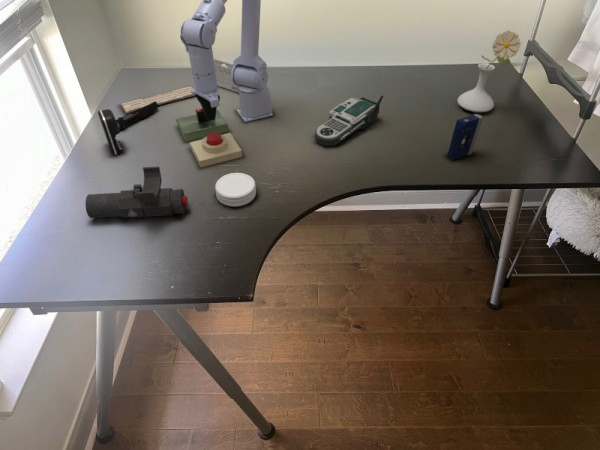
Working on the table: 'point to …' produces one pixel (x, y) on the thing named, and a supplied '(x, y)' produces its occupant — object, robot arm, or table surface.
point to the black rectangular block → (200, 115)
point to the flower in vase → (478, 97)
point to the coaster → (235, 189)
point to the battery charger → (110, 130)
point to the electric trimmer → (136, 115)
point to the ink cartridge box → (224, 75)
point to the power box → (215, 151)
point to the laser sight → (138, 199)
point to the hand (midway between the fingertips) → (210, 119)
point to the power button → (214, 139)
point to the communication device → (347, 120)
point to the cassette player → (464, 136)
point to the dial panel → (200, 127)
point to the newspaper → (157, 99)
